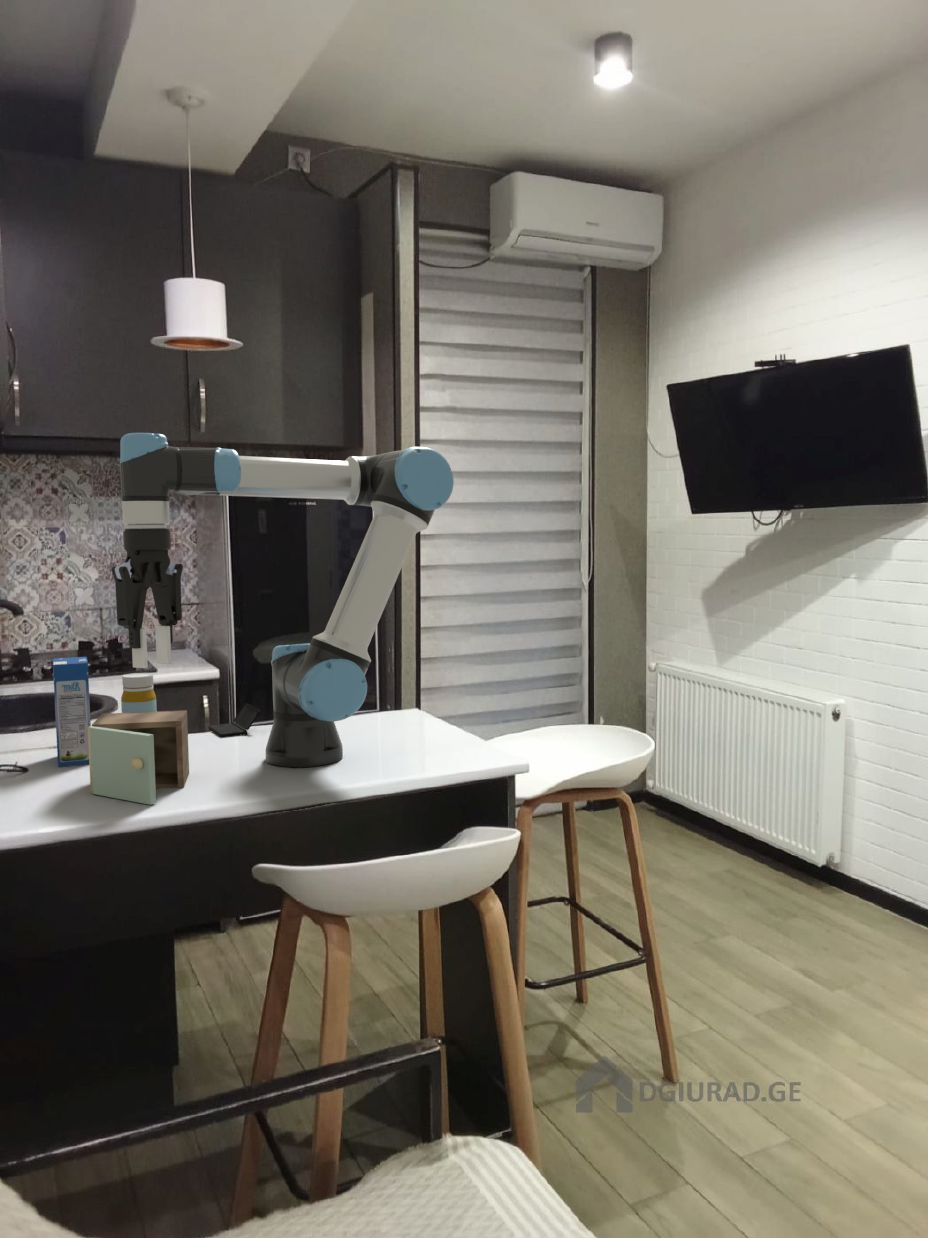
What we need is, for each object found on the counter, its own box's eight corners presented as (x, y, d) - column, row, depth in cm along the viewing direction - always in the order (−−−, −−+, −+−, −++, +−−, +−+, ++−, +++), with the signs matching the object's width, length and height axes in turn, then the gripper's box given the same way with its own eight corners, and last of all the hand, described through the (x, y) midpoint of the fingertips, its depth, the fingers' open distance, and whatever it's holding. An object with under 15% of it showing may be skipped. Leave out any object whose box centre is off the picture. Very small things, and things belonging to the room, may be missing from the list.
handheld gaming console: (199, 723, 218) (225, 687, 220) (222, 738, 222) (248, 702, 224) (220, 739, 209) (247, 701, 211) (244, 754, 213) (270, 717, 216)
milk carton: (92, 763, 187) (87, 662, 186) (58, 767, 185) (52, 664, 183) (91, 753, 197) (86, 656, 195) (58, 756, 194) (53, 658, 192)
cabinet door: (156, 802, 160) (153, 734, 159) (144, 806, 158) (142, 737, 156) (94, 791, 167) (91, 726, 166) (83, 794, 165) (80, 728, 164)
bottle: (139, 750, 199) (136, 678, 197) (116, 746, 202) (112, 676, 201) (164, 743, 205) (162, 674, 203) (142, 740, 208) (139, 671, 207)
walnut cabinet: (189, 773, 180) (186, 710, 178) (183, 787, 170) (181, 720, 169) (105, 777, 177) (102, 713, 176) (94, 792, 167) (91, 724, 166)
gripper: (170, 527, 169) (175, 657, 172) (87, 527, 154) (94, 671, 156) (201, 526, 166) (206, 660, 168) (120, 527, 151) (126, 674, 153)
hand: (152, 665), depth 162 cm, fingers open, 4 cm apart
